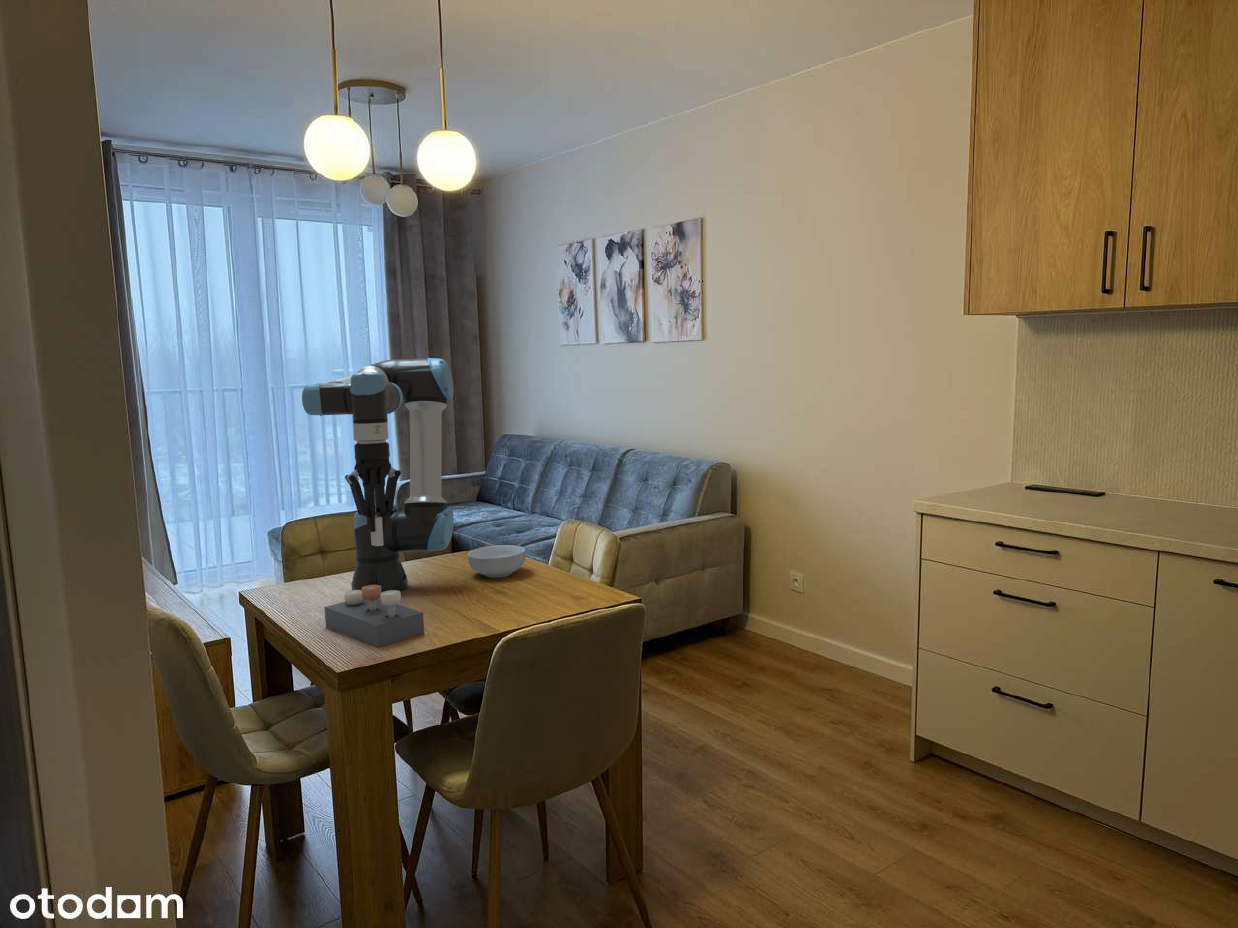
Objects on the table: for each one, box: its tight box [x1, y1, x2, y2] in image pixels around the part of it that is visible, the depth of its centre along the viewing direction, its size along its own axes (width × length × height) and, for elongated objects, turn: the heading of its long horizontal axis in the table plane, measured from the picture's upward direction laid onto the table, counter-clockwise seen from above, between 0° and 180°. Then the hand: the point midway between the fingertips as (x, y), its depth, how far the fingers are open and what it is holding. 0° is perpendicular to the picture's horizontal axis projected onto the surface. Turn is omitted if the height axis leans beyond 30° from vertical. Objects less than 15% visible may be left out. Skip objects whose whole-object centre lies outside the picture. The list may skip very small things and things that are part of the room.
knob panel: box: [323, 598, 425, 648], centre depth 193 cm, size 12×23×5 cm, turn 48°
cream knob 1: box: [344, 589, 364, 606], centre depth 198 cm, size 4×4×7 cm
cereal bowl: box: [467, 544, 527, 579], centre depth 241 cm, size 17×17×7 cm
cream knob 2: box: [380, 590, 402, 618], centre depth 187 cm, size 4×4×7 cm
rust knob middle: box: [362, 585, 382, 612], centre depth 193 cm, size 4×4×7 cm
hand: (377, 545), depth 187 cm, fingers closed
